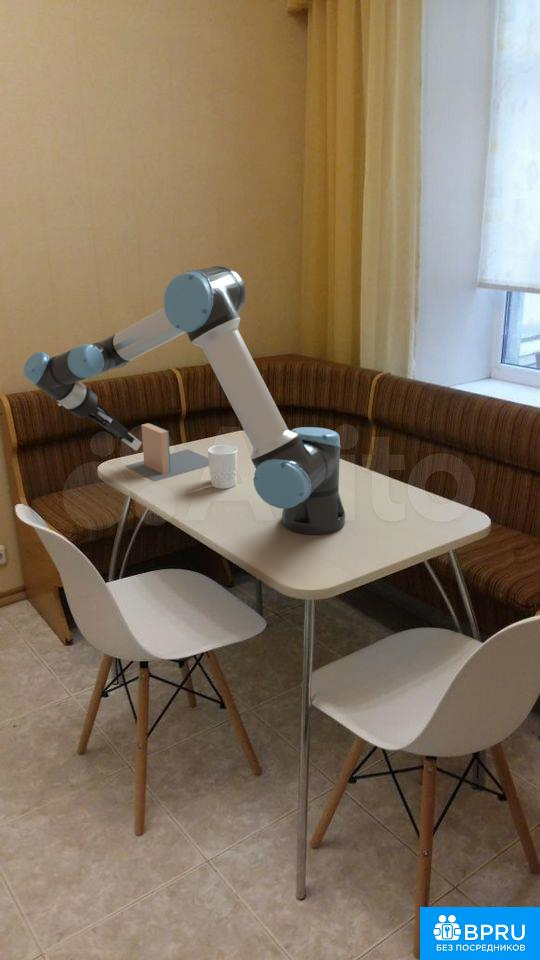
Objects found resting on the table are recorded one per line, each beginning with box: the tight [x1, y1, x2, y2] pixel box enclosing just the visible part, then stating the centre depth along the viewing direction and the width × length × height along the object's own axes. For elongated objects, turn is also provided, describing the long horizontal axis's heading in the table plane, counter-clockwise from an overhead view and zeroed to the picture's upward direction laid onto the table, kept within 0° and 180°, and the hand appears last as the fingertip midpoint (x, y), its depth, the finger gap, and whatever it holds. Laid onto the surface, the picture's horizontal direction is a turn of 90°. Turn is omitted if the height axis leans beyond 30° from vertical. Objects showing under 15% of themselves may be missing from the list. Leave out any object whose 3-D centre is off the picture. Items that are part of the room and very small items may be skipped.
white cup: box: [207, 444, 238, 490], centre depth 203 cm, size 8×8×10 cm
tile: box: [141, 422, 171, 474], centre depth 213 cm, size 2×10×12 cm, turn 40°
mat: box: [124, 449, 209, 482], centre depth 218 cm, size 22×16×1 cm
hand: (138, 446), depth 209 cm, fingers closed
